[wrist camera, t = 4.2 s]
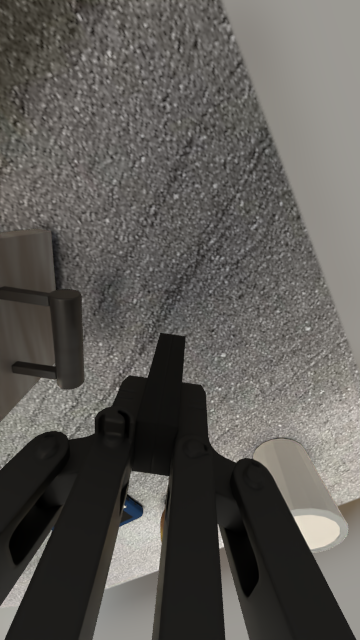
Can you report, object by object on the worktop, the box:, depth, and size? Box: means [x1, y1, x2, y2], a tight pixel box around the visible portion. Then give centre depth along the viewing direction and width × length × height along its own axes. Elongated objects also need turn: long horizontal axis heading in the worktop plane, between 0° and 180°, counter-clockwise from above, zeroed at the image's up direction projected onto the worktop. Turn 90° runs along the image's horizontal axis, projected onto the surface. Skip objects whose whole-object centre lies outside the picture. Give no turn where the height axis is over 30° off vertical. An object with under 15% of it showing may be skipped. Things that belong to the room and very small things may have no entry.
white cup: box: [253, 438, 348, 553], centre depth 23 cm, size 7×7×7 cm
